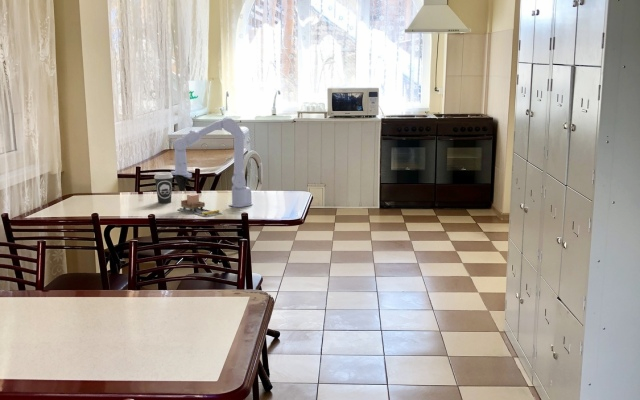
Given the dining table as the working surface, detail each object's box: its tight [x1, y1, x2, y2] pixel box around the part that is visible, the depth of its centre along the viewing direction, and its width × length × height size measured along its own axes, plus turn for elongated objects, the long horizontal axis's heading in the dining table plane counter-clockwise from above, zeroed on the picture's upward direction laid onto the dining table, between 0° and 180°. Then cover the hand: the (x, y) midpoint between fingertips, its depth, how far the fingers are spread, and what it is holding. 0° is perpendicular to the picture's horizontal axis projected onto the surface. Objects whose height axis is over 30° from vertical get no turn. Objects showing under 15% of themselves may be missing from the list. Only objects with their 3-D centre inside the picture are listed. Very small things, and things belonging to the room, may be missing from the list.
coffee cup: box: [153, 171, 174, 204], centre depth 349 cm, size 10×10×15 cm
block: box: [186, 193, 200, 204], centre depth 328 cm, size 4×4×5 cm
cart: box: [180, 199, 206, 211], centre depth 328 cm, size 8×8×4 cm
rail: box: [177, 207, 223, 218], centre depth 325 cm, size 9×23×2 cm, turn 46°
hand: (182, 190), depth 333 cm, fingers closed
